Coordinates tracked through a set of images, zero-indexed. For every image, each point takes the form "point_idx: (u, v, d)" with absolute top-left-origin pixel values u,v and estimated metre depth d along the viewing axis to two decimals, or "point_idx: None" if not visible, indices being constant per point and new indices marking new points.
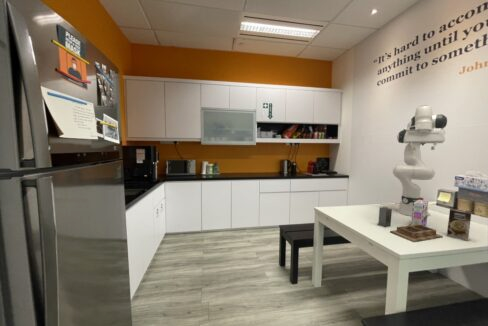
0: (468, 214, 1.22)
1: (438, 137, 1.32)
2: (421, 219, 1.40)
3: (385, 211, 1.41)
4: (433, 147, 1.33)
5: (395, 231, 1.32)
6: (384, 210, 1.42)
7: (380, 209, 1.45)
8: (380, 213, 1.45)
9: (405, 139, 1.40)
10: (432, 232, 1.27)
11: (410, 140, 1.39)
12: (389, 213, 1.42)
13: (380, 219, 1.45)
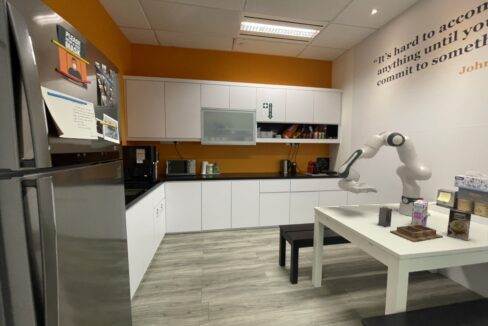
0: (468, 214, 1.22)
1: None
2: (421, 219, 1.40)
3: (385, 211, 1.41)
4: (365, 192, 1.53)
5: (395, 231, 1.32)
6: (384, 210, 1.42)
7: (380, 209, 1.45)
8: (380, 213, 1.45)
9: None
10: (432, 232, 1.27)
11: None
12: (389, 213, 1.42)
13: (380, 219, 1.45)
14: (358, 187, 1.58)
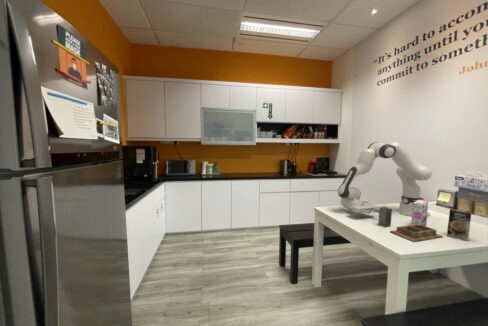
0: (468, 214, 1.22)
1: None
2: (421, 219, 1.40)
3: (385, 211, 1.41)
4: None
5: (395, 231, 1.32)
6: (384, 210, 1.42)
7: (380, 209, 1.45)
8: (380, 213, 1.45)
9: None
10: (432, 232, 1.27)
11: None
12: (389, 213, 1.42)
13: (380, 219, 1.45)
14: (360, 207, 1.56)
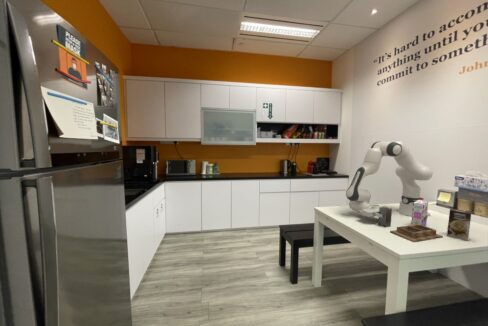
0: (468, 214, 1.22)
1: None
2: (421, 219, 1.40)
3: (385, 211, 1.41)
4: None
5: (395, 231, 1.32)
6: (384, 210, 1.42)
7: (380, 209, 1.45)
8: (380, 213, 1.45)
9: None
10: (432, 232, 1.27)
11: None
12: (389, 213, 1.42)
13: (380, 219, 1.45)
14: (371, 210, 1.48)
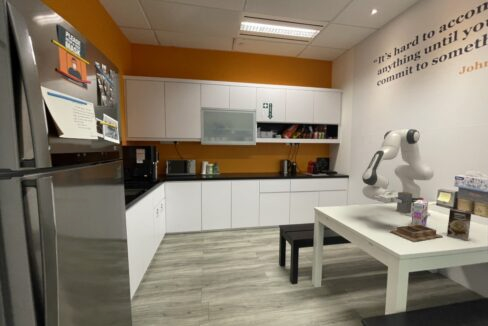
0: (468, 214, 1.22)
1: None
2: (421, 219, 1.40)
3: (404, 196, 1.29)
4: None
5: (395, 231, 1.32)
6: (404, 195, 1.29)
7: (399, 194, 1.32)
8: (399, 198, 1.32)
9: None
10: (432, 232, 1.27)
11: None
12: (410, 198, 1.29)
13: (399, 205, 1.32)
14: (389, 196, 1.35)
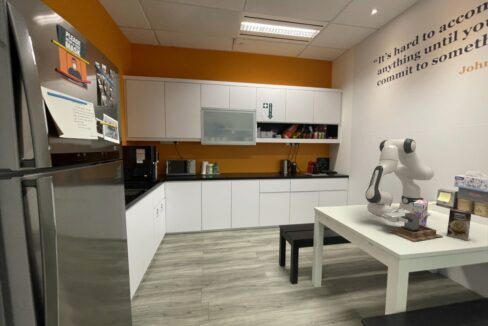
0: (468, 214, 1.22)
1: None
2: (421, 219, 1.40)
3: (412, 218, 1.25)
4: None
5: (395, 231, 1.32)
6: (411, 216, 1.26)
7: (406, 215, 1.29)
8: None
9: None
10: (432, 232, 1.27)
11: None
12: (417, 220, 1.26)
13: (406, 226, 1.29)
14: (395, 215, 1.31)
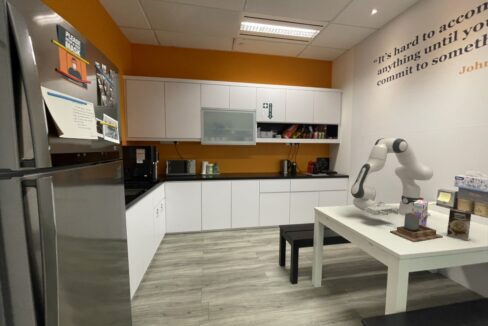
0: (468, 214, 1.22)
1: None
2: (421, 219, 1.40)
3: (412, 218, 1.25)
4: None
5: (395, 231, 1.32)
6: (411, 216, 1.26)
7: (406, 215, 1.29)
8: (406, 220, 1.29)
9: None
10: (432, 232, 1.27)
11: None
12: (417, 220, 1.26)
13: (406, 226, 1.29)
14: (377, 208, 1.44)
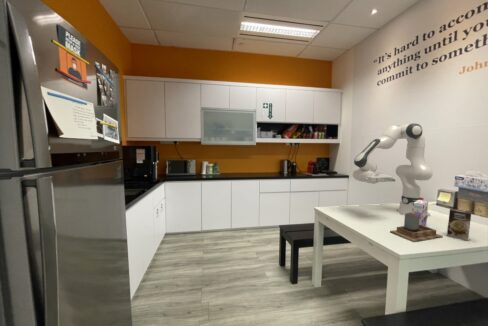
0: (468, 214, 1.22)
1: None
2: (421, 219, 1.40)
3: (412, 218, 1.25)
4: (382, 181, 1.47)
5: (395, 231, 1.32)
6: (411, 216, 1.26)
7: (406, 215, 1.29)
8: (406, 220, 1.29)
9: None
10: (432, 232, 1.27)
11: None
12: (417, 220, 1.26)
13: (406, 226, 1.29)
14: (375, 176, 1.51)
